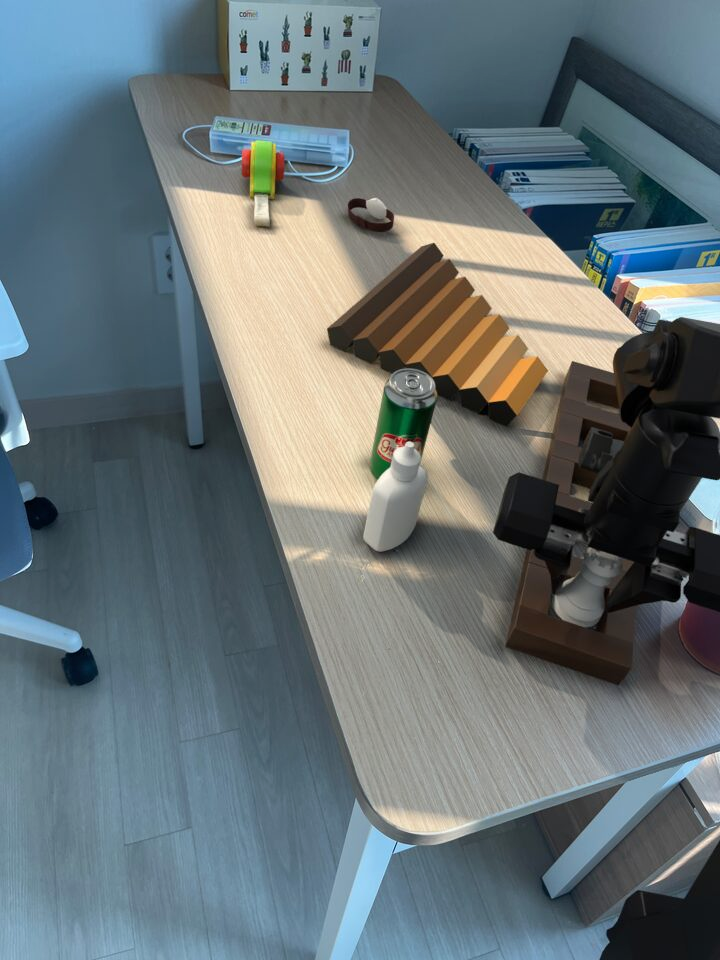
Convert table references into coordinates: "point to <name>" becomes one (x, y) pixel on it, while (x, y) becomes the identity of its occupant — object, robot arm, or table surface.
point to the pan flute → (441, 336)
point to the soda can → (403, 416)
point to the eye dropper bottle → (396, 500)
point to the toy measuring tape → (262, 176)
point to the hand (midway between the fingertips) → (581, 599)
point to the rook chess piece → (587, 589)
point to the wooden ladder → (530, 624)
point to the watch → (375, 209)
